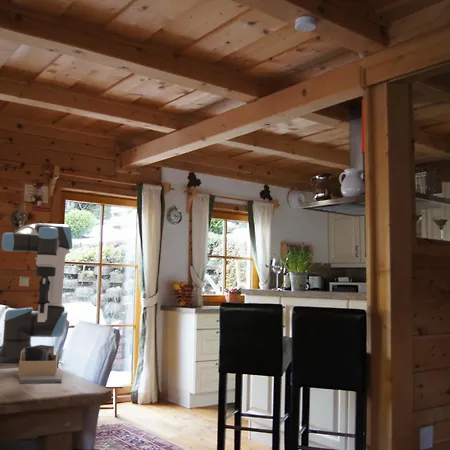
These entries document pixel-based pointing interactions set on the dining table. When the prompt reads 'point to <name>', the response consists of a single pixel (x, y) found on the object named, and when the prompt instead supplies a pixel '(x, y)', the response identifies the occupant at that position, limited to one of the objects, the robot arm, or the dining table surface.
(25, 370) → the carton
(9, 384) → the dining table surface
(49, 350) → the small box
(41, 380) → the board
